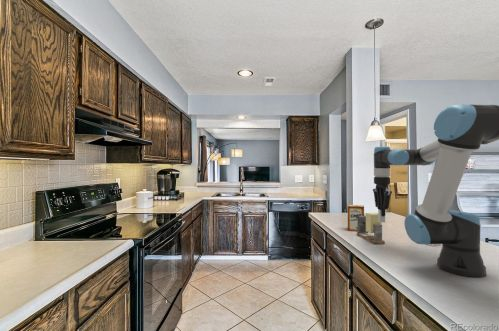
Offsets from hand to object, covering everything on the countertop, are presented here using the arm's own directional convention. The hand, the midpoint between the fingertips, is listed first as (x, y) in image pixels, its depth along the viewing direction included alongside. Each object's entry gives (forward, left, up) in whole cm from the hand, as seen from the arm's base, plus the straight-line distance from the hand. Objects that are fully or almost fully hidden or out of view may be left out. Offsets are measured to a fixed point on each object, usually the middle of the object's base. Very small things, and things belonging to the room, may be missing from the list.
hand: (381, 222), depth 134 cm
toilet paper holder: (+11, 0, -12) cm, 16 cm away
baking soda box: (+31, -2, -12) cm, 34 cm away
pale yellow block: (+8, 0, -7) cm, 10 cm away
